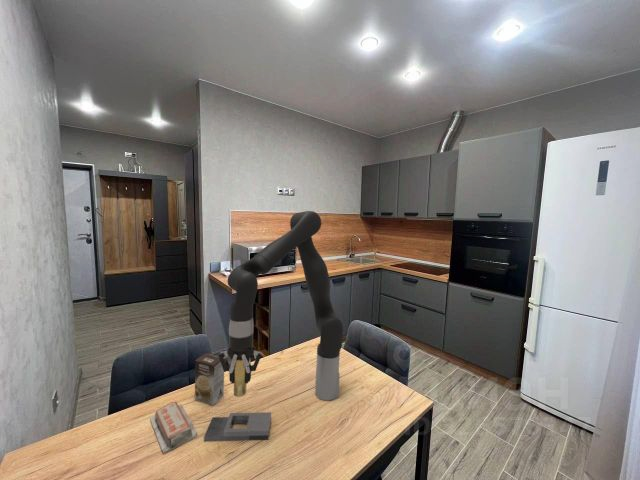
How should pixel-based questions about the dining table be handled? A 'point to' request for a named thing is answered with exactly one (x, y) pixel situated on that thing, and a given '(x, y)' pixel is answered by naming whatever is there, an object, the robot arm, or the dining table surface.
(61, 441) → the dining table surface
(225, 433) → the grey socket base
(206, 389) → the coffee box
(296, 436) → the dining table surface
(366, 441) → the dining table surface
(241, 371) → the pin
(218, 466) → the dining table surface
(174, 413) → the packaged product
